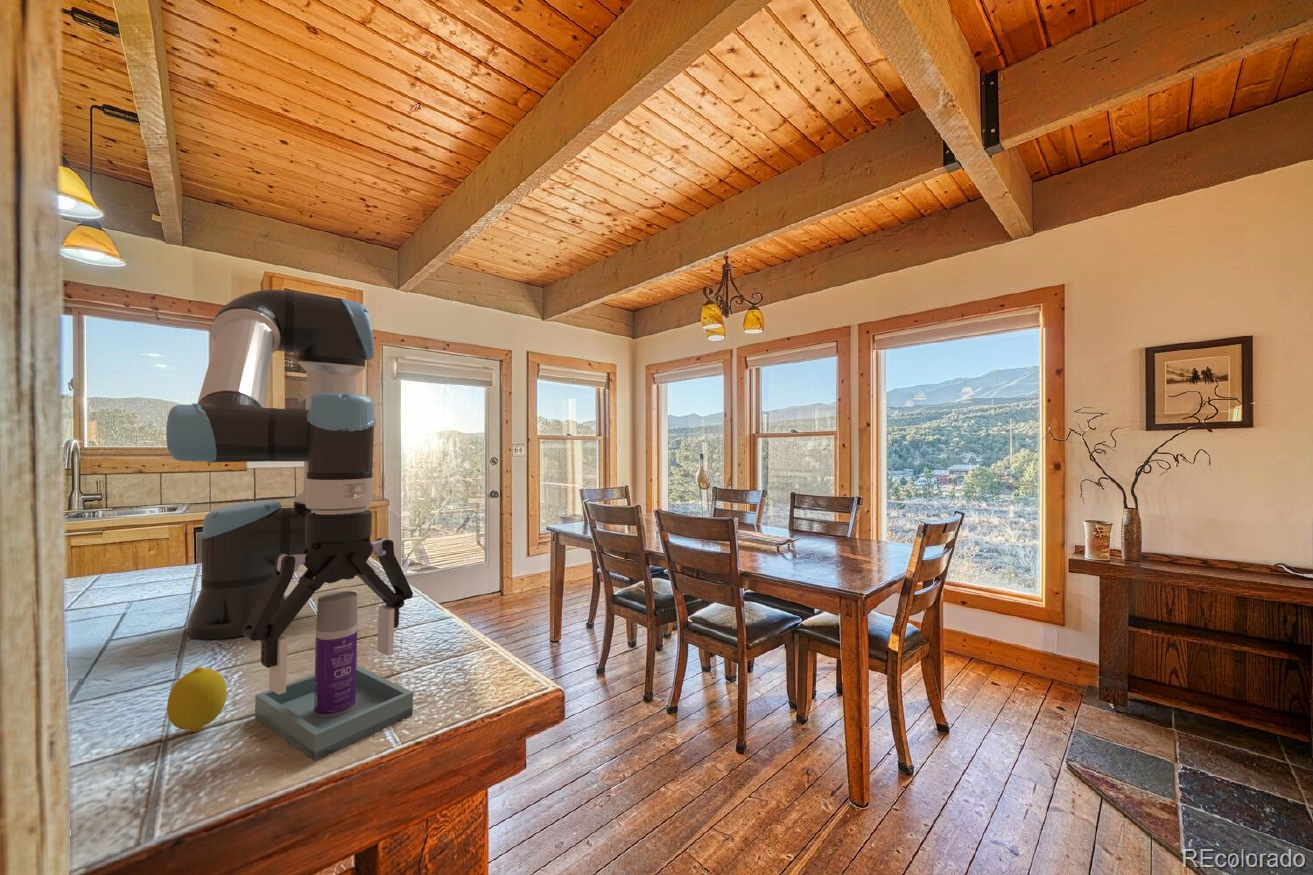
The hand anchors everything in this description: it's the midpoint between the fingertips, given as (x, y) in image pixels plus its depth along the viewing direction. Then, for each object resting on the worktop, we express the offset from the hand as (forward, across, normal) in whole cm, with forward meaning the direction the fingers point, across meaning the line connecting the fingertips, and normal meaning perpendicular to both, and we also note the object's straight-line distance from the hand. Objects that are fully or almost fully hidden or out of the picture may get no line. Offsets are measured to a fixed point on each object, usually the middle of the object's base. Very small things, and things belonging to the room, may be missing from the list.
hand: (335, 670), depth 68 cm
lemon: (+6, -11, +10) cm, 16 cm away
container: (+5, 0, 0) cm, 5 cm away
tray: (+6, 0, 0) cm, 6 cm away
